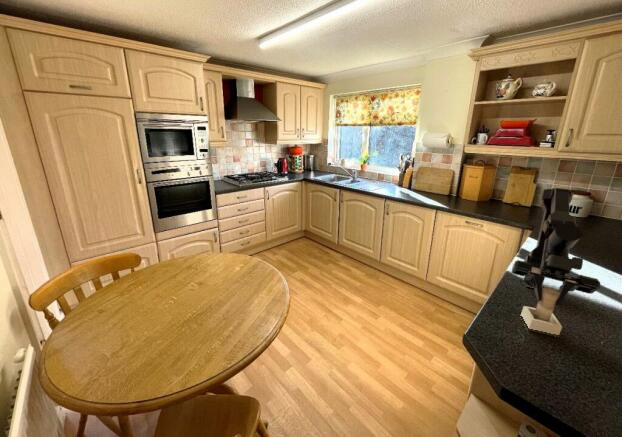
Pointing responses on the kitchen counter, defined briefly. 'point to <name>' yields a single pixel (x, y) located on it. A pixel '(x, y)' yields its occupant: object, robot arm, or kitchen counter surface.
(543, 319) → the wick dowel
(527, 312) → the cream square tray
